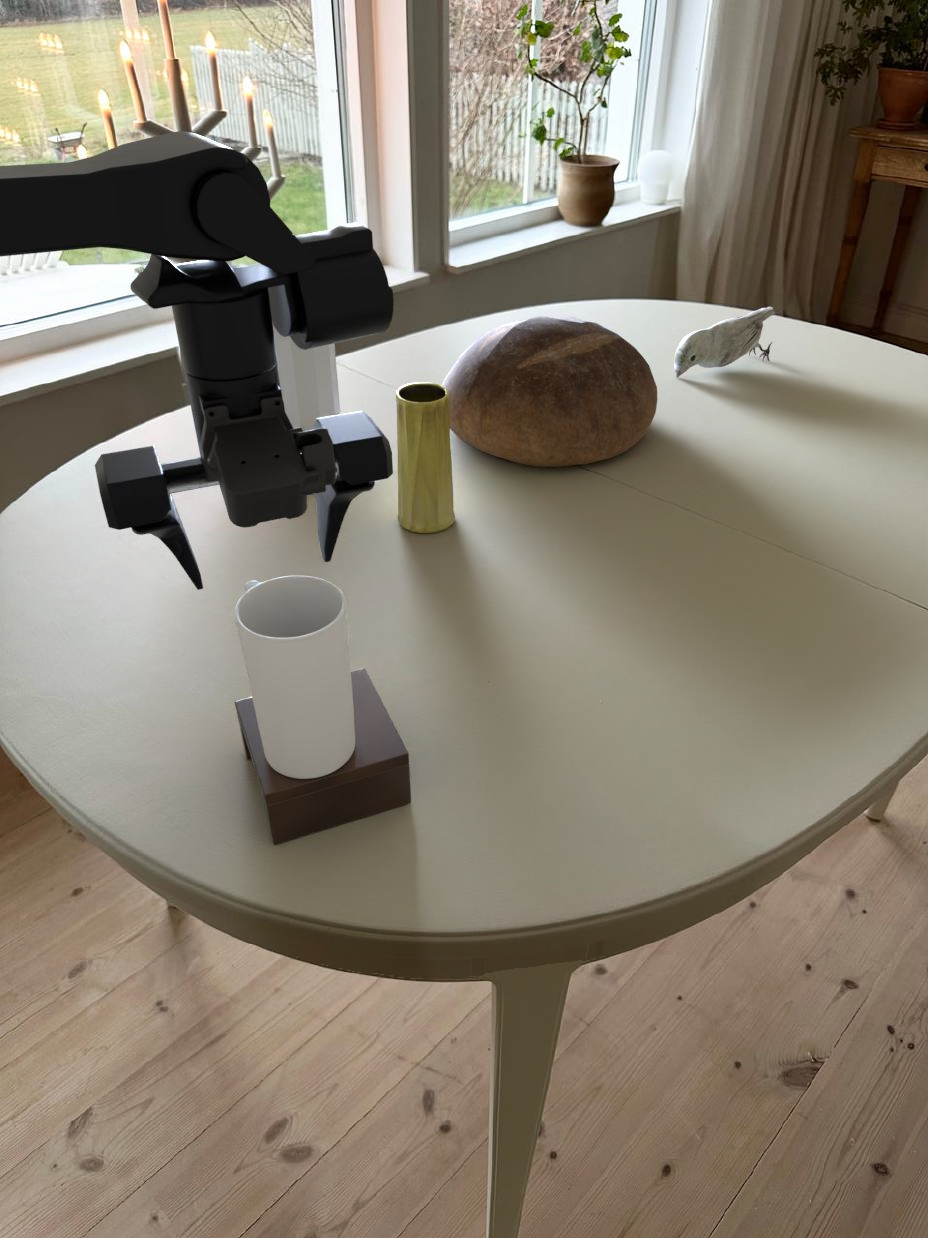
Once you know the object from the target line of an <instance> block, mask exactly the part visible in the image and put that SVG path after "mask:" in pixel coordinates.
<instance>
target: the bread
mask: <svg viewBox="0 0 928 1238" xmlns="http://www.w3.org/2000/svg"><path fill="white" fill-rule="evenodd" d="M441 385H442V386H444V387H445V388H447V390H448V391H449V395H450V431H451V432H452V433H453V434H454V435H455V436H457V437H458V438H459V439H460V440H461V441H463V442H464V443H466V444H468V445H469V446H471V447H473V448H475V449H477V450H479V451H480V452H483V453H485V454H489V455H491V456H494V457H497V458H500V459H504V460H506V461H509V462H513V463H517V464H522V465H526V466H532V467H539V468H541V467H543V468H544V467H545V468H558V467H571V466H572V467H573V466H580V465H588V464H593V463H596V462H600V461H603V460H608V459H612V458H614V457H616V456H618V455H620V454H623V453H625V452H627V451H628V450H630V449H631V448H632V447H633V446H634V445H636V444H638V443H639V441H640V440H641V439H642V438H643V437H644V435H645V434H646V433H647V432H648V430H649V428H650V426H651V425H652V423H653V421H654V418H655V416H656V413H657V405H658V386H657V384H656V381H655V378H654V374H653V372H652V369H651V367H650V364H649V363H648V362H647V360H646V359H645V357H644V356H643V355H642V354H641V353H640V352H639V350H638V349H637V348H636V347H635V346H633V345H632V343H630V342H629V341H627V339H624V338H623V337H622V336H621V335H620V334H618V333H617V332H615V331H612V330H611V329H608V328H607V327H604V326H603V325H601V324H599V323H597V322H593V321H590V320H589V321H588V320H583V319H582V318H577V317H574V316H566V317H559V318H556V317H551V316H536V317H531V318H529V319H525V320H524V319H523V320H518V321H512V322H507V323H504V324H501V325H499V326H496V327H493V328H491V329H490V330H488V331H486V332H484V333H483V334H481V336H480V337H478V338H477V339H476V340H474V341H473V342H472V343H471V344H470V345H469V346H468V347H467V348H466V349H465V350H464V351H463V352H462V353H461V354H460V355H459V357H458V358H457V360H456V361H455V362H454V364H453V365H452V367H451V369H450V370H449V372H448V373H447V374H446V376H445V377H444V380H443V382H442V384H441Z"/></svg>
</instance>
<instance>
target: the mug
mask: <svg viewBox="0 0 928 1238" xmlns="http://www.w3.org/2000/svg"><path fill="white" fill-rule="evenodd" d="M244 591H245V593H243V594H242V595H241V597H240V598H239V599H238V601H237V602H236V605H235V607H234V618H235V621H236V626H237V632H238V637H239V642H240V643H239V644H240V647H241V651H242V657H243V661H244V666H245V670H246V675H247V680H248V684H249V688H250V693H251V697H252V698H253V703H254V708H255V712H256V717H257V722H258V727H259V731H260V736H261V740H262V744H263V749H264V754H265V757H266V760H267V762H268V763H269V765H270V766H271V767H272V768H273V769H274V770H276V771H277V772H279V773H280V774H283V775H285V776H288V777H292V778H298V779H311V778H317V777H321V776H325V775H327V774H330V773H332V772H334V771H336V770H337V769H339V768H340V767H342V766H343V765H344V764H345V763H346V762H347V761H348V760H349V758H350V757H351V755H352V753H353V751H354V748H355V727H354V709H353V696H352V682H351V671H352V670H351V667H352V666H351V655H350V638H349V624H348V617H347V615H348V614H347V601H346V597H345V595H344V593H343V591H342V590H341V589H340V588H339V587H338V586H336V585H335V584H334V583H332V582H330V581H328V580H326V579H323V578H320V577H315V576H309V575H286V576H279V577H275V578H271V579H268V580H265V581H263V582H259V581H257V580H250V581H248V582H246V583H245V584H244Z"/></svg>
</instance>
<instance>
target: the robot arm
mask: <svg viewBox="0 0 928 1238" xmlns="http://www.w3.org/2000/svg"><path fill="white" fill-rule="evenodd" d="M94 248H104V249H118V250H127V251H130V252H131V251H132V252H137V253H142V254H143V253H144V254H149V255H150V257H149V260H148V262H147V264H146V266H145V267H144V268H143V269H142V270H141V271H140V272H139V273H138V275H137V276H136V277H135V278H134V279H133V280H132V281H131V283H130V285H129V286H130V287H129V288H130V290H131V292H132V293H133V294H134V295H135V296H137V297H138V298H139V299H140V300H141V301H143V302H144V303H145V304H146V305H147V306H148V307H150V308H151V309H153V310H158V309H164V308H167V307H168V308H169V307H171V309H172V314H173V315H172V316H173V319H174V325H175V330H176V331H175V332H176V336H177V341H178V346H179V351H180V357H181V362H182V366H183V372H184V377H185V383H186V388H187V393H188V400H189V404H190V405H189V406H190V410H191V415H192V420H193V425H194V430H195V436H196V440H197V446H198V451H199V457H194V458H189V459H183V460H176V461H170V462H166V463H160V459H159V457H158V453H157V450H156V446H155V445H150V446H143V447H142V446H141V447H137V448H131V449H125V450H119V451H112V452H106V453H101V454H100V456H99V457H98V459H97V460H96V462H95V464H94V468H95V473H96V479H97V485H98V490H99V495H100V499H101V503H102V508H103V512H104V515H105V518H106V521H107V522H106V523H107V526H108V528H110V529H114V530H118V531H121V530H125V529H131V531H132V532H133V533H134V534H135V535H137V536H143V535H152V536H154V537H156V538H157V539H159V540H160V541H161V542H162V543H163V544H164V545H165V547H167V549H168V550H169V551H170V552H171V554H173V556H174V557H175V559H176V561H177V562H178V563H179V564H180V566H181V568H182V569H183V571H184V572H185V573H186V575H187V576H188V578H189V580H190V581H191V582H192V584H193V585H194V587H195V588H196V590H198V591H199V590H203V589H204V584H203V580H202V575H201V572H200V571H201V570H200V568H199V565H198V562H197V559H196V556H195V554H194V551H193V547H192V546H191V545H192V544H191V543H190V540H189V537H188V535H187V532H186V530H185V527H184V524H183V522H182V521H183V520H182V519H181V516H180V513H179V511H178V508H177V506H176V503H175V500H174V497H173V495H172V494H176V493H181V492H186V491H192V490H198V489H203V488H208V487H214V486H219V489H220V492H221V496H222V498H223V501H224V504H225V508H226V513H227V515H228V519H229V520H230V522H231V523H232V524H233V525H234V526H237V527H240V528H251V527H256V526H258V524H261V523H266V522H271V521H276V520H281V519H282V520H283V519H287V520H292V519H297V518H299V517H302V516H303V515H305V513H306V512H307V510H308V496H313V495H315V507H316V525H317V537H318V543H319V549H320V555H321V557H322V560H323V561H324V563H329V562H331V561H332V557H333V556H334V555H333V554H334V551H335V547H336V544H337V542H338V538H339V534H340V532H341V528H342V525H343V523H344V519H345V517H346V514H347V512H348V510H349V507H350V505H351V503H352V502H353V500H354V499H356V498H357V497H358V496H359V495H360V494H363V493H364V492H370V491H371V490H373V489H374V487H375V485H376V481H382V480H387V479H389V478H390V477H391V476H392V475H394V463H393V451H392V447H391V444H390V440H389V439H388V437H386V435H385V434H384V433H383V431H382V430H381V429H380V427H379V426H378V425H377V424H376V422H375V421H374V420H373V418H372V417H370V416H369V415H368V414H367V413H366V412H365V411H364V410H359V411H354V412H353V411H352V412H347V413H341V414H339V415H335V416H329V417H323V418H317V419H316V421H315V424H314V429H315V430H309V431H304V432H303V430H302V428H296V429H294V428H293V426H292V424H291V422H290V420H289V419H288V417H287V415H286V413H285V408H284V401H283V399H282V391H281V385H280V378H279V370H278V362H277V354H276V346H275V339H274V331H273V325H274V327H275V329H276V330H277V332H278V333H279V334H280V335H281V336H283V337H287V336H290V337H291V339H292V341H293V342H294V343H295V344H296V345H297V346H298V347H299V348H300V349H304V350H307V349H312V348H316V347H321V346H325V345H330V344H339V343H343V342H347V341H352V340H358V339H361V338H365V337H370V336H374V335H379V334H382V333H385V332H387V330H388V329H389V328H390V326H391V322H392V321H393V316H394V301H395V300H394V291H393V288H392V287H391V286H390V284H389V279H388V276H387V272H386V270H385V267H384V264H383V263H382V260H381V258H380V256H379V255H378V253H377V251H376V250H375V249H374V239H373V231H372V230H371V229H370V228H368V227H366V226H364V225H362V224H360V223H357V222H350V223H344V224H339V225H337V226H335V227H332V228H331V229H327V230H323V231H315V232H311V233H309V232H308V233H303V234H298V235H296V233H294V232H293V231H292V230H291V229H290V228H289V226H287V224H285V222H284V221H283V220H282V219H281V217H280V216H279V214H277V213H276V212H275V211H274V209H273V208H272V207H271V197H270V192H269V188H268V183H267V182H266V180H265V178H264V176H263V174H262V172H261V169H260V168H259V167H258V165H256V164H255V163H254V162H253V161H252V159H250V158H249V157H248V156H247V155H246V154H245V153H243V152H241V151H238V150H236V149H234V148H231V147H229V146H227V145H224V144H222V143H219V142H217V141H215V140H212V139H210V138H208V137H205V136H203V135H200V134H197V133H196V132H189V131H183V130H179V131H173V132H167V133H164V134H159V135H155V136H151V137H148V138H143V139H138V140H135V141H134V140H133V141H131V142H127V143H122V144H120V145H117V146H115V147H112V148H110V149H108V150H105V151H102V152H100V153H97V154H95V155H92V156H89V157H86V158H82V159H81V158H80V159H78V160H73V161H69V162H49V163H33V164H31V163H30V164H12V165H10V164H9V165H0V257H9V256H11V257H12V256H20V255H31V254H33V255H34V254H42V253H43V254H44V253H52V252H62V251H63V252H64V251H73V250H85V249H94ZM245 257H246V258H248V259H250V260H253V261H254V262H256V263H258V264H253V265H248V266H239V267H232V266H231V265H230V264H229V262H232V261H236V260H239V259H243V258H245ZM168 258H172V259H185V260H194V261H189V262H183V263H177V264H173V263H172V261H171V260H170V259H168Z"/></svg>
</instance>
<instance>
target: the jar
mask: <svg viewBox="0 0 928 1238" xmlns="http://www.w3.org/2000/svg"><path fill="white" fill-rule="evenodd" d="M273 331H274V339H275V346H276V354H277V362H278V370H279V378H280V385H281V391H282V399H283V401H284V408H285V413H286V415H287V417H288V419H289V420H290V422H291V424H292V426H293V428H294V429H296V428H302V430H303V432H304V431H309V430H315V429H314V424H315V421H316V419H317V418H323V417H329V416H335V415H340V413H341V403H340V392H339V380H338V371H337V370H338V369H337V357H336V356H337V355H336V345H335V344H336V343H334V344H330V345H325V346H321V347H316V348H312V349H307V350H304V349H300V348H299V347H298V346H297V345H296V344H295V343H294V342H293V341H292V339H291V337H290V336H287V337H283V336H281V335H280V334H279V333H278V332H277V330H276V329H275V327H274V325H273Z"/></svg>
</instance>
